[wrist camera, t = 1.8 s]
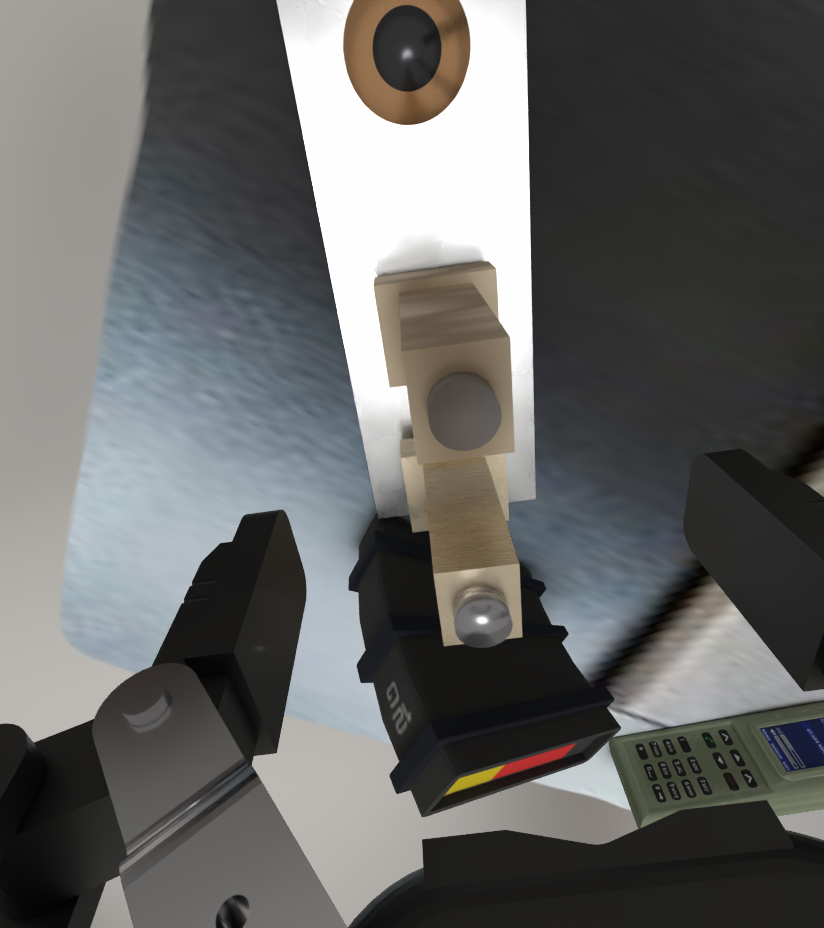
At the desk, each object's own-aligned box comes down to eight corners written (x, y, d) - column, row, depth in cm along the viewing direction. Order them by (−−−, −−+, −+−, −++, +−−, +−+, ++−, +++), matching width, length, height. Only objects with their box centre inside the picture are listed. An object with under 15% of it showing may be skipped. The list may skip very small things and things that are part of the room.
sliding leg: (486, 259, 23) (556, 326, 13) (492, 355, 26) (556, 475, 16) (374, 275, 24) (361, 353, 14) (389, 369, 26) (387, 496, 16)
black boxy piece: (325, 500, 29) (453, 772, 19) (495, 516, 37) (651, 715, 27) (301, 550, 31) (407, 825, 20) (469, 555, 39) (607, 757, 28)
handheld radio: (607, 731, 43) (934, 674, 41) (608, 753, 45) (923, 699, 42) (640, 822, 37) (1023, 761, 35) (641, 843, 39) (1006, 786, 37)
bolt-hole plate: (512, -228, 18) (732, -962, 6) (530, 488, 31) (609, 671, 20) (245, -181, 18) (-13, -793, 6) (378, 507, 31) (370, 698, 20)
